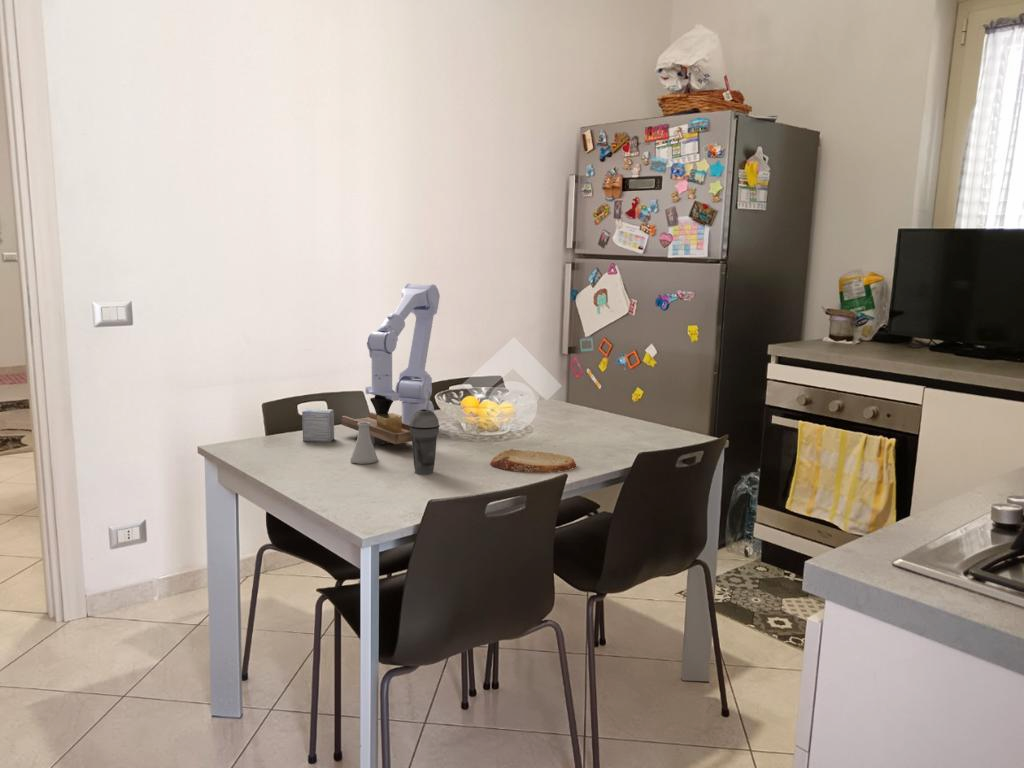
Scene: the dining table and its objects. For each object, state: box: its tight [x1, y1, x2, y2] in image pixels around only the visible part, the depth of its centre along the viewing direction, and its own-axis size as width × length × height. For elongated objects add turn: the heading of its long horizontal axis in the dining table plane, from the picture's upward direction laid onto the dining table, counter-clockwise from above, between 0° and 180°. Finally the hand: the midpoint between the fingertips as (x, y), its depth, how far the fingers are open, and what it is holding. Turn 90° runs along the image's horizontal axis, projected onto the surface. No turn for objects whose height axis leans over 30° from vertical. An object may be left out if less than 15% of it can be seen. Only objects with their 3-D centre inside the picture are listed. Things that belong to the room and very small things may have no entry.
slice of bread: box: [490, 448, 577, 474], centre depth 204 cm, size 18×18×4 cm
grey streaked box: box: [301, 408, 335, 443], centre depth 227 cm, size 8×4×9 cm, turn 84°
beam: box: [341, 411, 412, 445], centre depth 226 cm, size 10×28×3 cm, turn 41°
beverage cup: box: [409, 391, 440, 475], centre depth 195 cm, size 7×7×20 cm
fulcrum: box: [370, 435, 392, 446], centre depth 225 cm, size 8×2×3 cm, turn 131°
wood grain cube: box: [377, 412, 402, 432], centre depth 223 cm, size 5×5×4 cm
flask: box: [350, 422, 379, 465], centre depth 205 cm, size 7×7×10 cm
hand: (382, 422), depth 226 cm, fingers closed
